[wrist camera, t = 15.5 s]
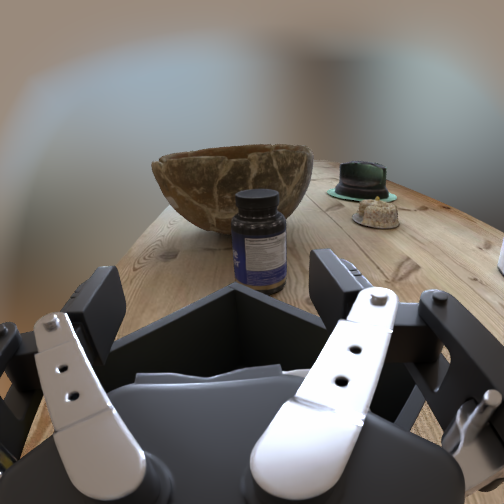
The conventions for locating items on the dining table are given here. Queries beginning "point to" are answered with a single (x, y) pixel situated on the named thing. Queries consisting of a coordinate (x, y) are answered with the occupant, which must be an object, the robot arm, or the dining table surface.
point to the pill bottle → (259, 241)
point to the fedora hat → (362, 182)
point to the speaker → (501, 260)
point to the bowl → (232, 180)
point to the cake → (377, 214)
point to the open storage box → (244, 347)
